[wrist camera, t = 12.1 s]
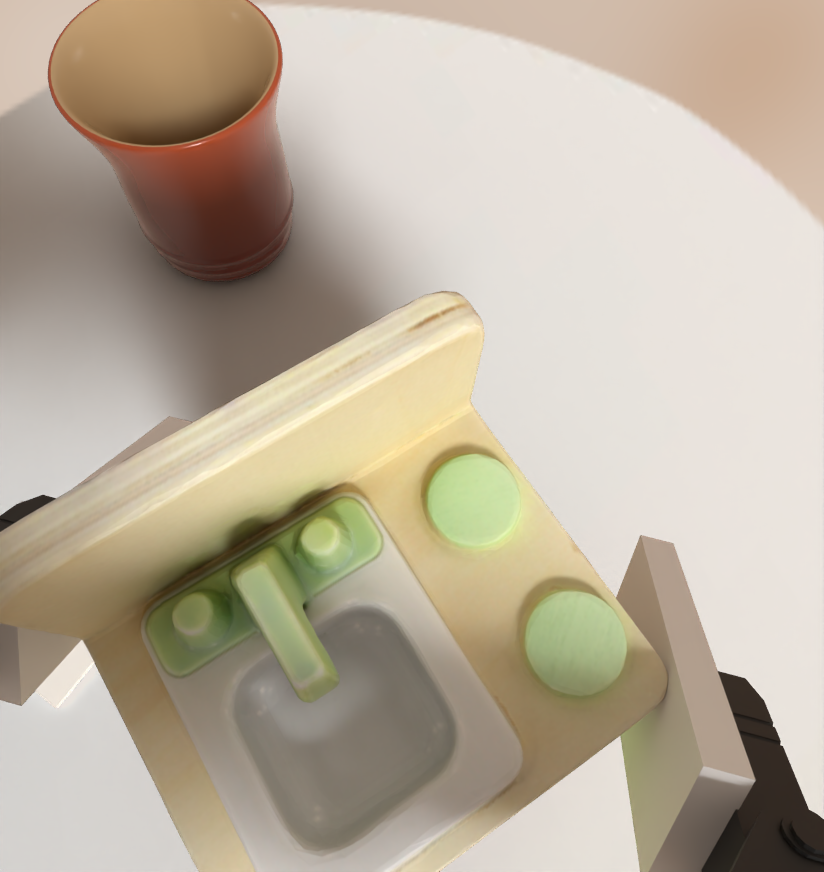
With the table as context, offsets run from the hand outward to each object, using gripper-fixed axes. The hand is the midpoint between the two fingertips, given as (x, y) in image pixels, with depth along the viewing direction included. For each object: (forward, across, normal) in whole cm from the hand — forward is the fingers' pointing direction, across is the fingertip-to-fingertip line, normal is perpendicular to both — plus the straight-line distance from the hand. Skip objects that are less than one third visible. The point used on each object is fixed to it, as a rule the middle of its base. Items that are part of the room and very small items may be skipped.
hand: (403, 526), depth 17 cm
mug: (+22, -14, +3) cm, 26 cm away
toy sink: (+2, 0, -6) cm, 7 cm away
